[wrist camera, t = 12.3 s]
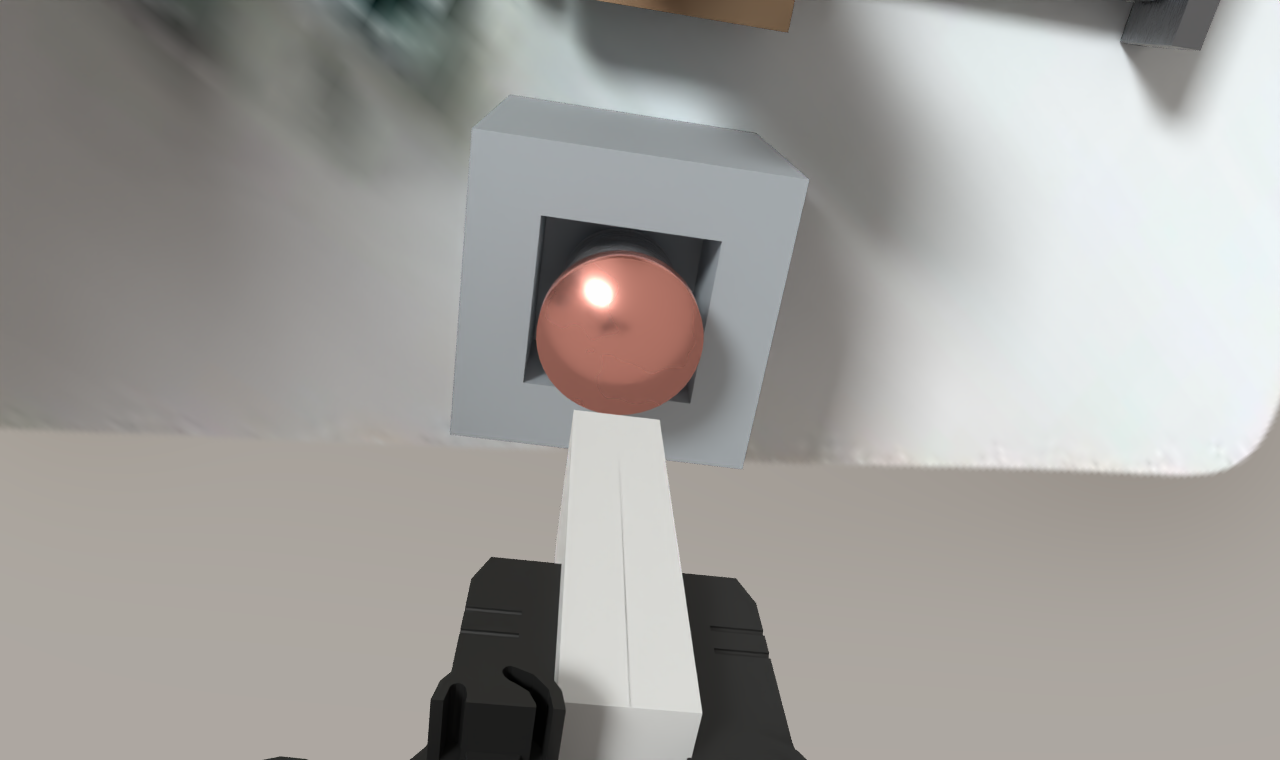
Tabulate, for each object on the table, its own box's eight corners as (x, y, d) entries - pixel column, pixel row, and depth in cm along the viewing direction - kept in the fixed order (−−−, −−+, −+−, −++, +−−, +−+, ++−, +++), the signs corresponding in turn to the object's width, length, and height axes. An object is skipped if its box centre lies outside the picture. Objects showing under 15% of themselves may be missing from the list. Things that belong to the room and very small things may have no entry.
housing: (489, 329, 34) (449, 434, 25) (509, 94, 30) (472, 128, 22) (710, 358, 34) (742, 469, 26) (756, 133, 31) (809, 179, 23)
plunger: (541, 340, 27) (528, 404, 23) (556, 205, 25) (545, 247, 21) (675, 357, 28) (687, 424, 23) (699, 226, 26) (718, 271, 21)
